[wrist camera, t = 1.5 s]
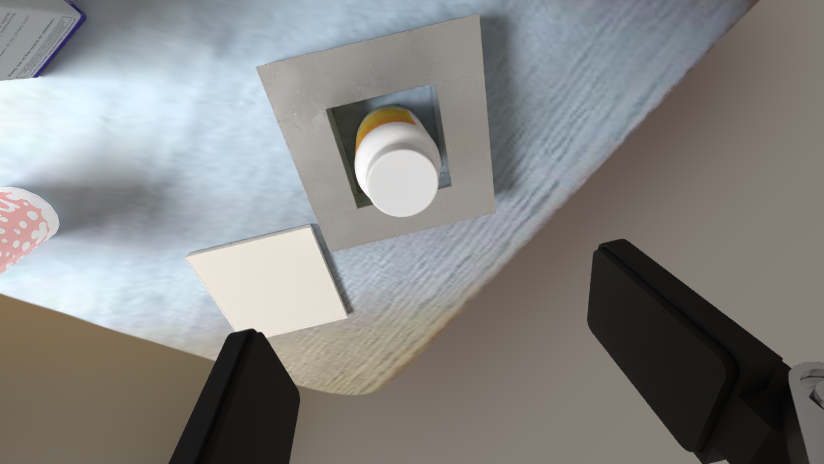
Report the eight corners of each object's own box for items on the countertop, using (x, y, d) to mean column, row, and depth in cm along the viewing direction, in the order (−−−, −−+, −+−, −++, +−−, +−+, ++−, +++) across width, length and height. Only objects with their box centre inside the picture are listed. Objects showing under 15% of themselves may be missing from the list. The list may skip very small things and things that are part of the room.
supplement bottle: (343, 147, 26) (333, 197, 18) (382, 88, 25) (391, 113, 16) (398, 184, 28) (412, 244, 20) (437, 131, 27) (471, 173, 18)
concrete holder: (466, 16, 23) (479, 13, 20) (484, 197, 30) (495, 212, 28) (267, 63, 23) (255, 66, 20) (332, 234, 30) (329, 252, 27)
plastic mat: (310, 223, 29) (309, 227, 29) (347, 313, 35) (347, 317, 34) (188, 253, 29) (185, 257, 29) (245, 338, 35) (243, 343, 34)
